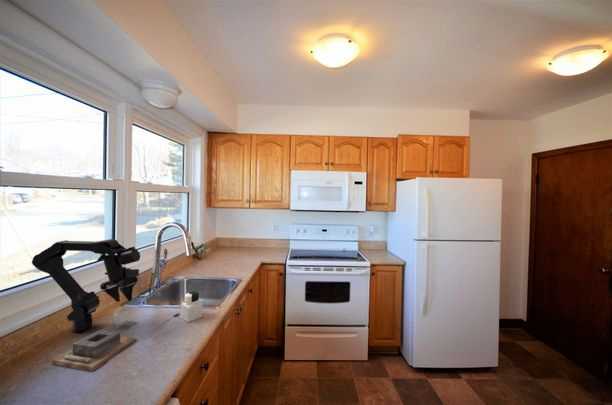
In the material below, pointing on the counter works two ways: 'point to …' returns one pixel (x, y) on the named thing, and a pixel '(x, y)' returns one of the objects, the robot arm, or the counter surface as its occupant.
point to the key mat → (128, 325)
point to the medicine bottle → (191, 307)
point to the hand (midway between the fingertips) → (124, 301)
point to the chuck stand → (94, 350)
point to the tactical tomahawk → (167, 320)
